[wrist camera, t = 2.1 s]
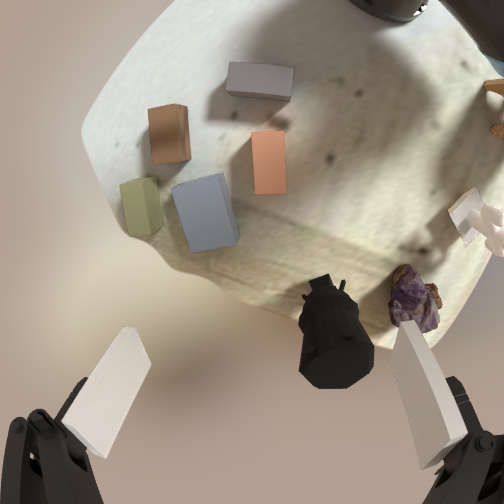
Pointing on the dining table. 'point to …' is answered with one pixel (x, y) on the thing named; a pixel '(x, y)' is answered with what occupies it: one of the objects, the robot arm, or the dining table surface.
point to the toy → (333, 338)
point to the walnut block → (169, 134)
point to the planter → (500, 87)
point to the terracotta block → (269, 162)
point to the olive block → (142, 206)
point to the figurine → (478, 221)
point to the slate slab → (206, 213)
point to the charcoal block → (260, 80)
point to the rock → (414, 300)
